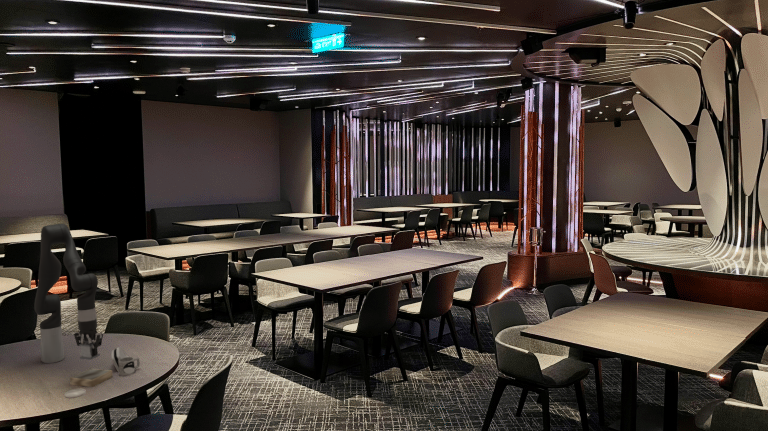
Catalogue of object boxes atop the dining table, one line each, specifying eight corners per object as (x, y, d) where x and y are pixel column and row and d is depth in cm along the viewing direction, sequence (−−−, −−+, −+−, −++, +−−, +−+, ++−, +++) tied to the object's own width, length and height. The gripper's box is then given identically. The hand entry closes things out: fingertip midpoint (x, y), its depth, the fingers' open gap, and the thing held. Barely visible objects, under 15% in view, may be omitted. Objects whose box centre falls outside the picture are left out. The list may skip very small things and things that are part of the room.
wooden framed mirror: (70, 384, 251) (70, 377, 251) (90, 374, 263) (90, 368, 262) (93, 387, 248) (92, 380, 248) (112, 376, 260) (112, 370, 259)
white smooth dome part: (60, 398, 238) (59, 395, 238) (74, 390, 246) (74, 387, 246) (76, 399, 236) (75, 396, 236) (90, 391, 244) (90, 389, 244)
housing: (80, 359, 252) (78, 342, 252) (89, 354, 258) (88, 339, 257) (90, 359, 251) (89, 343, 250) (99, 355, 256) (98, 339, 256)
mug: (124, 376, 260) (123, 362, 259) (116, 374, 263) (115, 360, 262) (144, 369, 268) (143, 356, 267) (135, 367, 272) (134, 354, 271)
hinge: (129, 370, 267) (120, 352, 265) (119, 375, 266) (109, 357, 264) (131, 359, 283) (122, 341, 281) (121, 363, 281) (112, 346, 279)
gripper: (67, 320, 251) (70, 357, 253) (94, 321, 247) (97, 359, 249) (80, 315, 258) (83, 351, 260) (106, 316, 255) (109, 353, 256)
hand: (89, 355), depth 254 cm, fingers closed on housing, 4 cm apart
